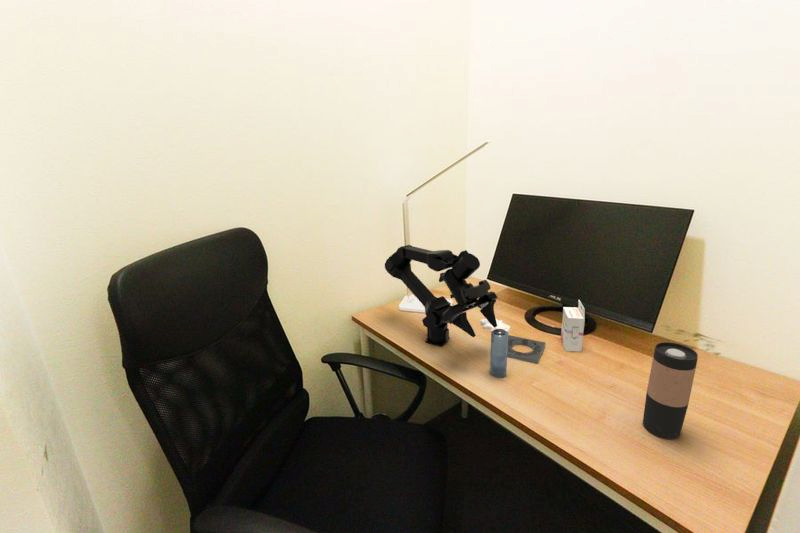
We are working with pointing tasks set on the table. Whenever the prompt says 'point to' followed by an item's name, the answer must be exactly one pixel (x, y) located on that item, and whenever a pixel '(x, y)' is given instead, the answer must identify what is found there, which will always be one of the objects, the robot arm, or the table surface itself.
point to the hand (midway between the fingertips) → (485, 331)
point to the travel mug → (669, 389)
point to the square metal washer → (535, 345)
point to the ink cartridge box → (573, 327)
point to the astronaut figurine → (499, 326)
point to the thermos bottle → (499, 353)
